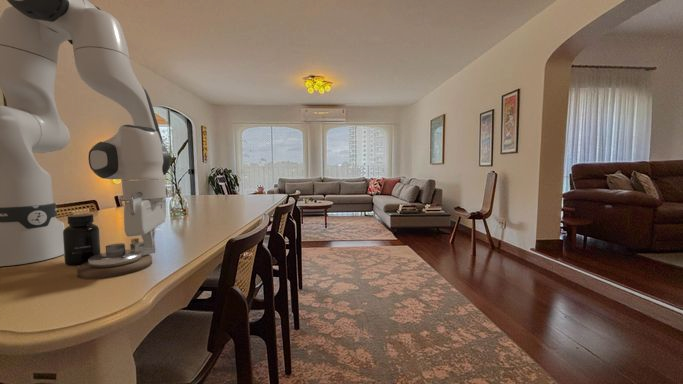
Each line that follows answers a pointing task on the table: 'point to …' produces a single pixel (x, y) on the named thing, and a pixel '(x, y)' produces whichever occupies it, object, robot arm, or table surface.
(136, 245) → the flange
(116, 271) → the walnut base
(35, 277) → the table surface
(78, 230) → the supplement bottle
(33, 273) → the table surface
